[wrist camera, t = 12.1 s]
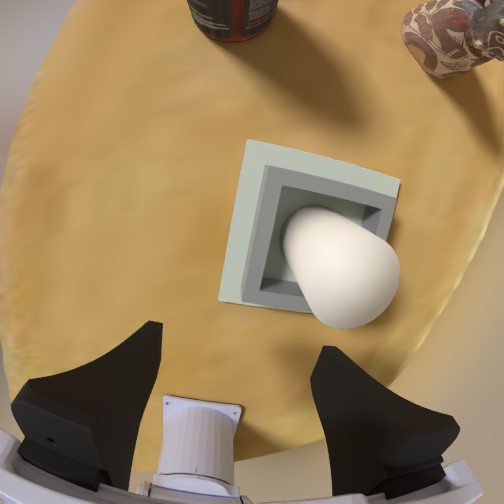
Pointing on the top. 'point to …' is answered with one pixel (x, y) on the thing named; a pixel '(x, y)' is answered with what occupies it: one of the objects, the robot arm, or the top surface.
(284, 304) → the cup holder
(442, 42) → the figurine
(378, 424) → the robot arm
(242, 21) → the supplement bottle
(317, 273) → the cream white egg
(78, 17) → the top surface
